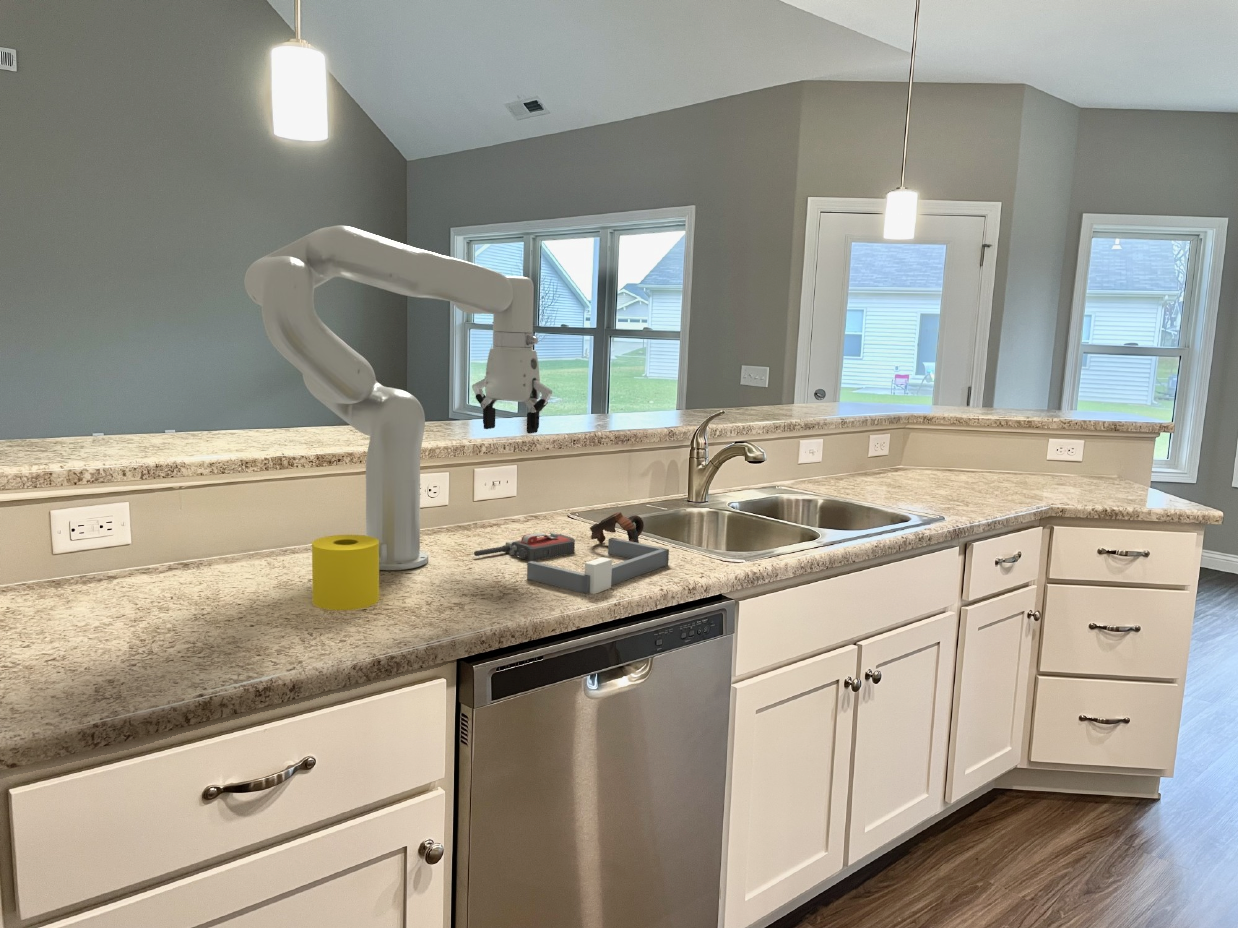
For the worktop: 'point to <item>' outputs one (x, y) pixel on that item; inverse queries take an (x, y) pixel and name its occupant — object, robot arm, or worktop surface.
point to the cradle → (602, 568)
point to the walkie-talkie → (535, 546)
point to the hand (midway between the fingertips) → (510, 430)
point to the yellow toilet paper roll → (345, 572)
